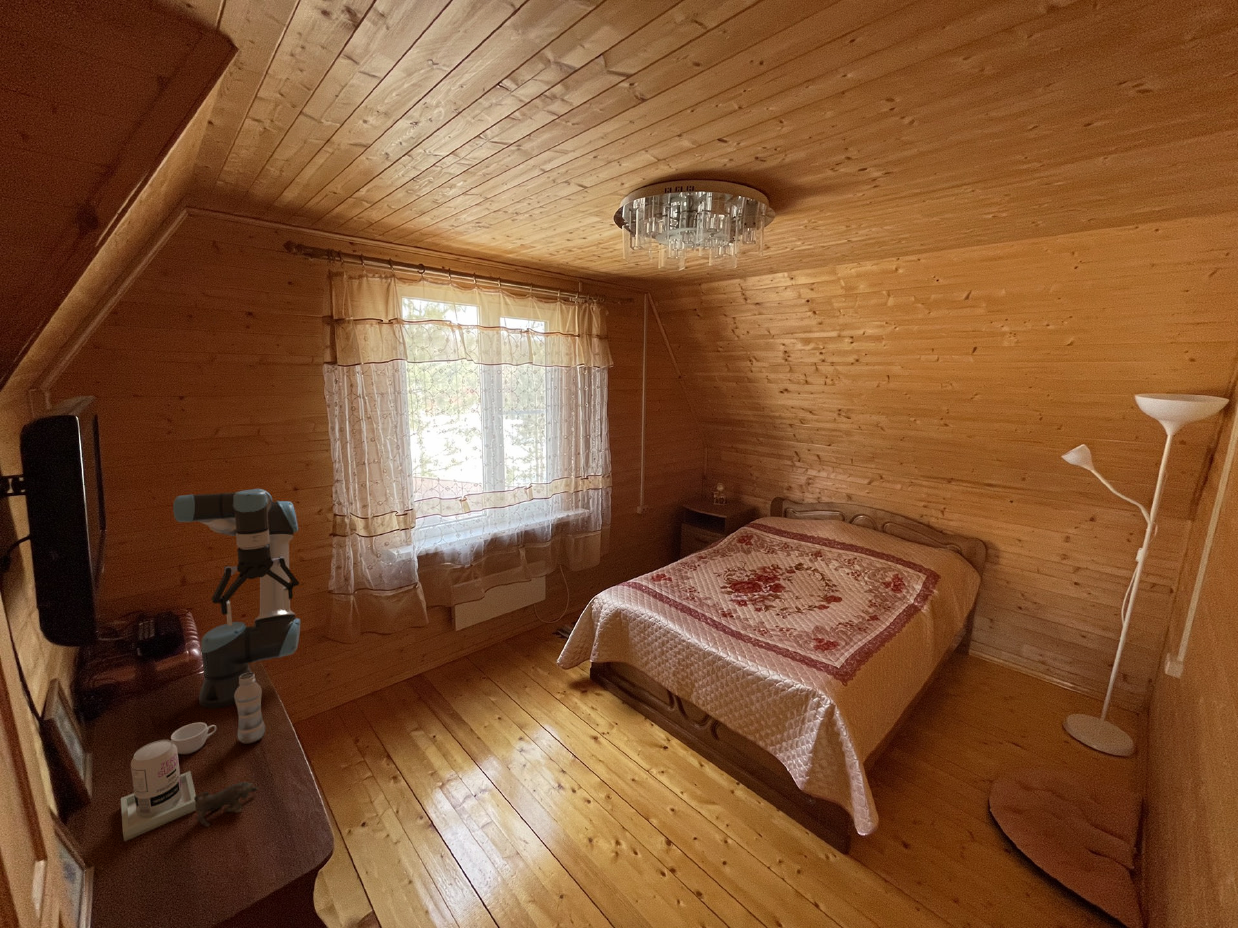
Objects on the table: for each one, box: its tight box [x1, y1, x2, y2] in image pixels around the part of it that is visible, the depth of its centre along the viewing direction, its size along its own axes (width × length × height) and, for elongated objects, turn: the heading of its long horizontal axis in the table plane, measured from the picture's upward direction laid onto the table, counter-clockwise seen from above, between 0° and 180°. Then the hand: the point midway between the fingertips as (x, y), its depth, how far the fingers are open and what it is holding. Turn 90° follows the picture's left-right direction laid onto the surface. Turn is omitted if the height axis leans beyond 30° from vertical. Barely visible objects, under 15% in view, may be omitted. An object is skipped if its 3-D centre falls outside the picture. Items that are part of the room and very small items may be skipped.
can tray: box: [120, 770, 197, 843], centre depth 124 cm, size 13×13×2 cm
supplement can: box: [130, 739, 182, 817], centre depth 123 cm, size 8×8×15 cm
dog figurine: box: [194, 781, 258, 828], centre depth 124 cm, size 12×6×7 cm, turn 127°
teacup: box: [170, 721, 217, 755], centre depth 145 cm, size 10×8×5 cm
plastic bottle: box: [234, 672, 266, 745], centre depth 147 cm, size 6×7×20 cm
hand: (259, 616), depth 146 cm, fingers open, 13 cm apart
